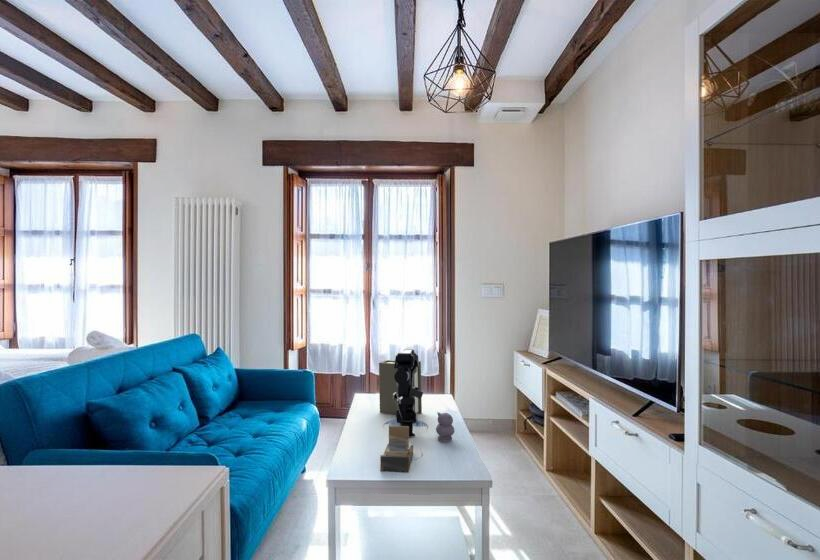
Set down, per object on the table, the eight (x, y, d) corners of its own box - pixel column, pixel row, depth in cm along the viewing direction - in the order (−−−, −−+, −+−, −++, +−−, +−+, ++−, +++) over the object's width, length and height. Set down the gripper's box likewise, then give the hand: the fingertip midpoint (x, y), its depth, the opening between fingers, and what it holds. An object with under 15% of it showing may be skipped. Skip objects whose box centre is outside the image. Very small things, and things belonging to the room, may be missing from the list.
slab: (389, 450, 166) (389, 425, 166) (408, 451, 165) (409, 426, 165) (386, 456, 160) (386, 430, 160) (407, 457, 159) (407, 431, 159)
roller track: (387, 452, 171) (387, 439, 171) (413, 453, 170) (413, 440, 170) (380, 471, 154) (380, 456, 154) (408, 472, 153) (408, 457, 153)
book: (378, 413, 223) (377, 361, 224) (387, 408, 232) (386, 358, 232) (414, 418, 214) (413, 364, 214) (421, 413, 222) (420, 361, 223)
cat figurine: (458, 440, 185) (458, 413, 185) (447, 445, 179) (447, 417, 179) (442, 435, 190) (443, 409, 190) (432, 440, 184) (432, 413, 184)
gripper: (427, 383, 173) (426, 422, 171) (416, 379, 191) (415, 414, 189) (401, 383, 170) (400, 423, 168) (392, 379, 188) (391, 414, 186)
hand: (402, 418), depth 178 cm, fingers closed
